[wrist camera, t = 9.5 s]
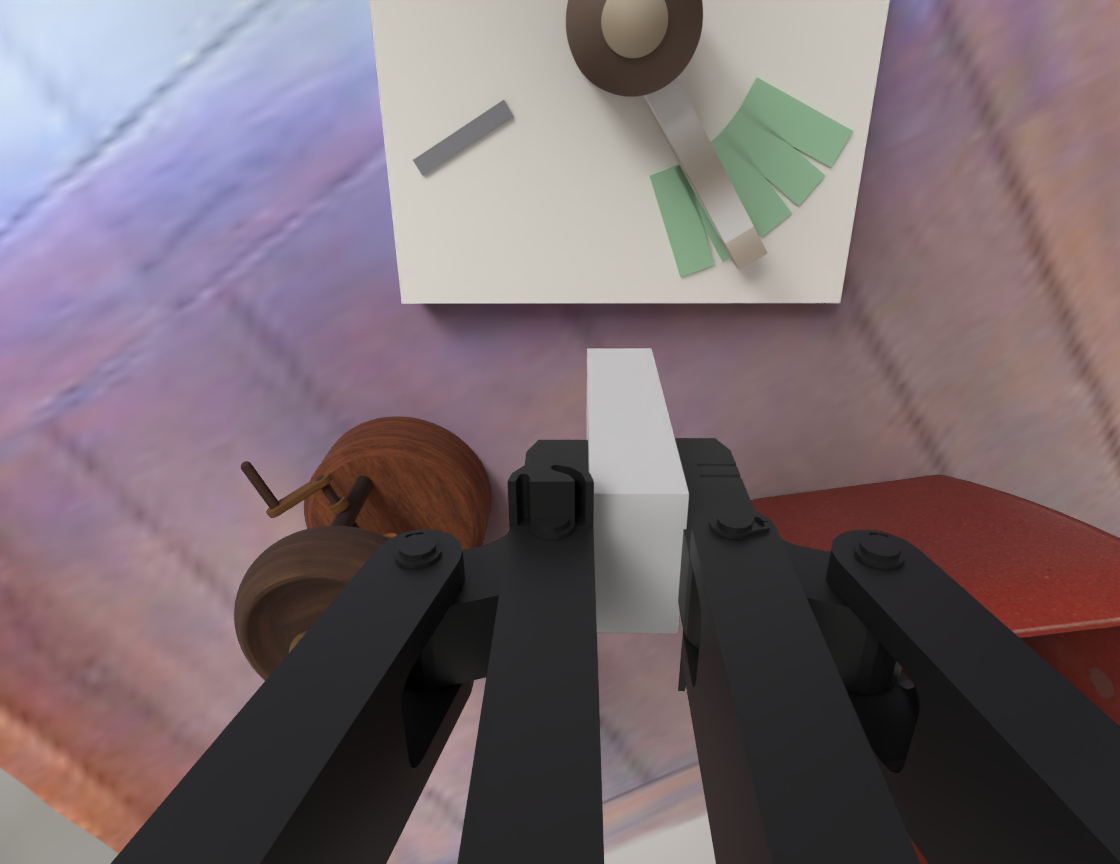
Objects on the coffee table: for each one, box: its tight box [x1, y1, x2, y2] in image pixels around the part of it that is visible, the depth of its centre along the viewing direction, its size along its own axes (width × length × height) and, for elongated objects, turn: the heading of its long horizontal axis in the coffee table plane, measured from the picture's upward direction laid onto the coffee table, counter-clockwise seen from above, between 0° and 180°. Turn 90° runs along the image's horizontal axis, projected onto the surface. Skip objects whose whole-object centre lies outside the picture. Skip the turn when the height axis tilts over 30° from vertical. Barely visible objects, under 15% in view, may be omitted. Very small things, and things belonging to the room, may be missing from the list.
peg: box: [566, 0, 767, 270], centre depth 30 cm, size 14×5×5 cm, turn 33°
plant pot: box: [751, 475, 1120, 864], centre depth 38 cm, size 19×19×17 cm
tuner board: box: [369, 0, 890, 304], centre depth 32 cm, size 24×22×3 cm
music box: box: [234, 417, 491, 681], centre depth 36 cm, size 15×11×20 cm
